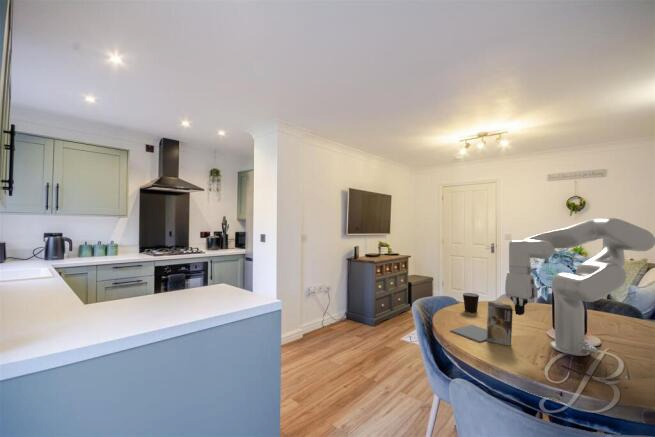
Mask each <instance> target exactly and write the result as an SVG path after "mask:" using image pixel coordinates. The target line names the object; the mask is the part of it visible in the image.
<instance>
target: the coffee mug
mask: <svg viewBox="0 0 655 437" xmlns="http://www.w3.org/2000/svg"><path fill="white" fill-rule="evenodd" d="M462 296H463V297H462V299H463V304H464V305H463V306H464V311H465V312H466V313H469V312H470V313H471V314H476V312H477V313H478V306H479V305H478V304H479V299H480V298H479V297H480V294H478V293H473V292H463V293H462Z"/></svg>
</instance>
